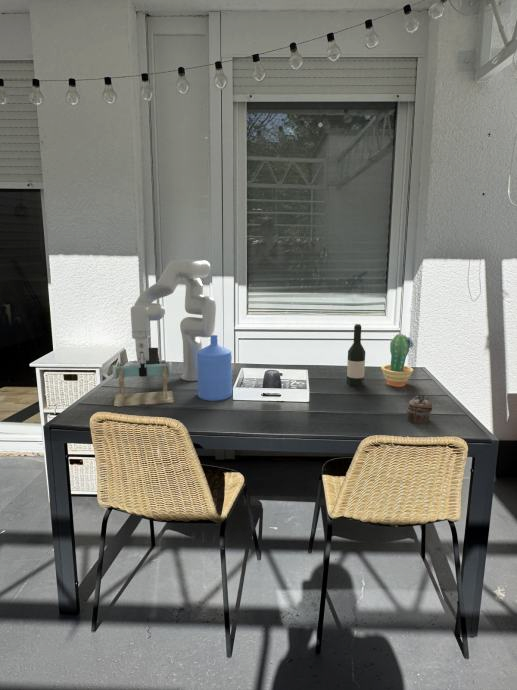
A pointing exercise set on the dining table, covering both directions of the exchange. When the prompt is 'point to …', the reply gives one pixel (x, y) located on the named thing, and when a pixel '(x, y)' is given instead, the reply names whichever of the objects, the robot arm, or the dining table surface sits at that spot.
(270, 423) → the dining table surface
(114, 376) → the teal long bar
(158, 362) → the phone stand
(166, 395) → the stand
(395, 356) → the potted cactus
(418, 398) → the cupcake
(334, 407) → the dining table surface
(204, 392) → the water jug
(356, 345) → the wine bottle
